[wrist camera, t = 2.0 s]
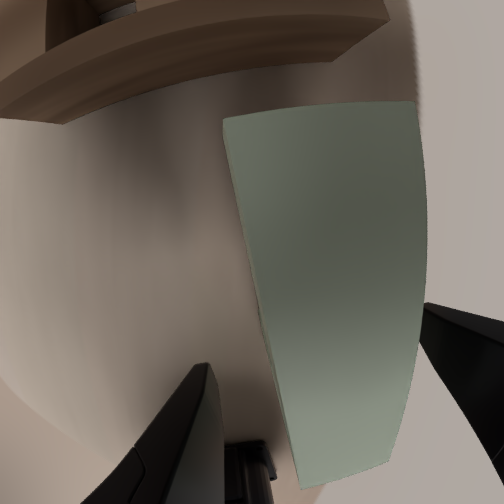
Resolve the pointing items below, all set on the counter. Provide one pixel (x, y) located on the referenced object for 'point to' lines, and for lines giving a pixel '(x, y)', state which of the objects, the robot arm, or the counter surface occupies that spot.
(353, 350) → the green block
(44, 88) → the brown cubby organizer
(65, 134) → the counter surface
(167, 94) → the counter surface
